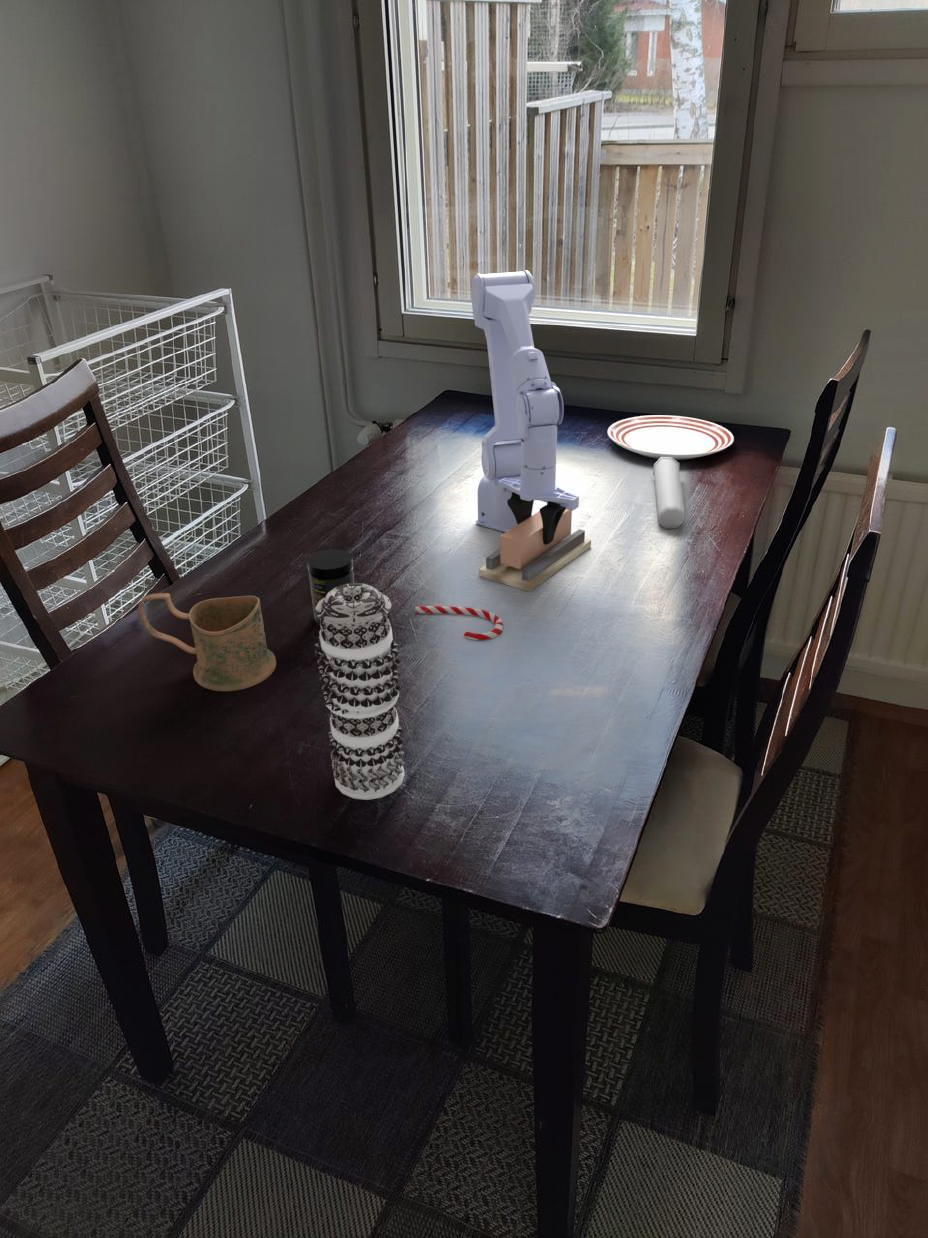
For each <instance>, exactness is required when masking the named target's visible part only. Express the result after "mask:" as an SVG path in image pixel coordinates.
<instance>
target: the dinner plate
mask: <svg viewBox="0 0 928 1238" xmlns="http://www.w3.org/2000/svg"><path fill="white" fill-rule="evenodd" d="M607 436H608V437H609V438H610V440H611V441H613V442H614V443H615V444H616V445H618V446H620V447H622V448H624V449H625V450H628V451H631V452H632V453H636V454H639V455H641V456H644V457H647V458H653V459H657V460H658V459H659V458H660V457H672V458H673V459H674V460H676V461H679V460H680V461H681V460H690V459H691V460H692V459H695V458H696V459H697V458H700V457H704V456H710V455H712V454H715V453H719V452H721V451H724V450H725V449H727V448H728V447H730V446H731V445H733V443H734V440H735V439H734V438H735V437H734V435H733V433H732V432H731V431H730V430H728V429H727V428H726V427H723V426H722V425H721V424H720V425H719V424H717V423H715V422H711V421H708V420H703V419H699V418H694V417H688V416H681V415H665V414H664V415H661V414H658V415H657V414H656V415H655V414H654V415H652V414H651V415H650V414H649V415H640V416H633V417H628V418H625V419H624V418H623V419H621V420H618V421H616V422H614V423H612V424H611V425H610V426H609V427H608V429H607Z"/></svg>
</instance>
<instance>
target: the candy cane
mask: <svg viewBox="0 0 928 1238" xmlns="http://www.w3.org/2000/svg"><path fill="white" fill-rule="evenodd" d="M414 613H415V614H441V615H442V614H445V615H446V614H449V615H450V614H451V615H464V616H465V615H467V616H474V617H479V618H483V619H487V620H488V621H491V623H492V624H493V626H494V628H493V629H491V630H490V631H487V632H481V633H475V632H470V631H465V632H464V634H463V637H464V638H465V639H468V640H474V641H486V640H491V639H493V638H496V637H498V636H500V635H501V634H502V632H503V630H504V624H503V621H502V619H501V618H500V617H499V616H498V615H496V614H495V613H494V612H490V611H488V610H485V609H479V608H475V607H465V606H448V605H447V606H445V605H444V606H443V605H442V606H441V605H439V606H438V605H435V606H434V605H424V606H423V605H421V606H415V608H414Z"/></svg>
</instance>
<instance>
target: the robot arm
mask: <svg viewBox="0 0 928 1238" xmlns="http://www.w3.org/2000/svg"><path fill="white" fill-rule="evenodd" d="M470 287H471V290H470V297H471V305H472V306H471V308H472V316H473V317H472V318H473V320H474V325H475V327H477V328H479V329H481V330H483V331H484V335H485V339H486V345H487V347H486V348H487V355H488V366H489V374H490V376H489V377H490V384H491V395H492V404H493V405H492V406H493V413H494V414H493V415H494V416H493V417H494V426H493V427H492V428H491V429H490V430H489V431H488V432H487V433H486V434H485V435H484V436H483V438H482V441H481V466H482V467H481V468H482V472H483V476H482V477H481V479H480V481H479V483H478V486H477V520H475V525H478V526H482V527H486V528H488V529H489V528H490V529H493V530H496V531H499V532H503V533H506V532H507V531H509V530H510V529H512V528H514V527H515V526H517V525H518V524H520V523H521V522H523V521H525V520H526V519H528V518H529V517H531V516H533V515H532V514H533V513H532V512H533V509H534V508H533V507H534V502H535V501H540V502H544V503H546V504H545V505H544V506H542V507H540V508H539V511H540V514H541V518H542V523H543V543H544V544H545V545H548V544H549V543H551V542H552V541H553V539H554V535H555V531H556V528H557V526H558V523H559V521H560V519H561V517H562V515H563V513H564V511H565V510H566V508H567V510H570V511H572V512H573V511H574V510H576V509H577V508H579V505H580V503H579V501H580V496H579V495H576V494H574V493H571V492H569V491H567V490H564V489H562V488H560V487H559V486H556V477H557V475H556V474H557V473H556V472H557V445H558V444H557V443H558V425H561V424H562V423H563V419H564V414H565V413H564V407H565V406H564V399H563V395H562V393H561V389H560V388H559V387H557V384H556V383H555V382H553V381H551V377H550V373H549V369H548V367H547V362H546V360H545V356H544V353H543V352H542V350H540V349H538V348H535V344H534V339H533V338H534V337H533V332H532V327H531V322H530V320H531V319H530V314H531V312H532V308H533V305H534V302H535V297H536V288H535V287H536V286H535V281H534V277H533V275H532V274H531V272H530V271H529V270H527V269H526V270H525V269H524V270H523V271H513V272H512V271H511V272H510V271H509V272H497V273H495V272H494V273H483V274H481V273H476V274H475V275H474V277H472V280H471V285H470ZM508 441H519V442H509V443H501V442H508ZM498 442H499V444H496V443H498Z"/></svg>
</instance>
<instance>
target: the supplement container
mask: <svg viewBox="0 0 928 1238" xmlns="http://www.w3.org/2000/svg"><path fill="white" fill-rule="evenodd" d="M306 563H307V572H308V576H309V585H310V593H311V594H310V595H311V600H312V601H311V602H312V611H313V617H314V620H315V622H316V624H318V625H319V626H320V620H319V617H318V616H317V615H316V609H315V608H316V606H317V604H318V603H319V601H320V600H322V599H323V598H325V597H326V595H327V594H328V592H330V591H331V590H333V589H334V588H336V587H338V586H341V585H344V584H351V583H355V575H354V562H353V555H352V554H351V553H350V552H348V551H347V550H343V549H339V548H338V549H337V548H328V549H322V550H319V551H316V552H314V553H312V554H311V555H309V556H308V558H307V560H306Z"/></svg>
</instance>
